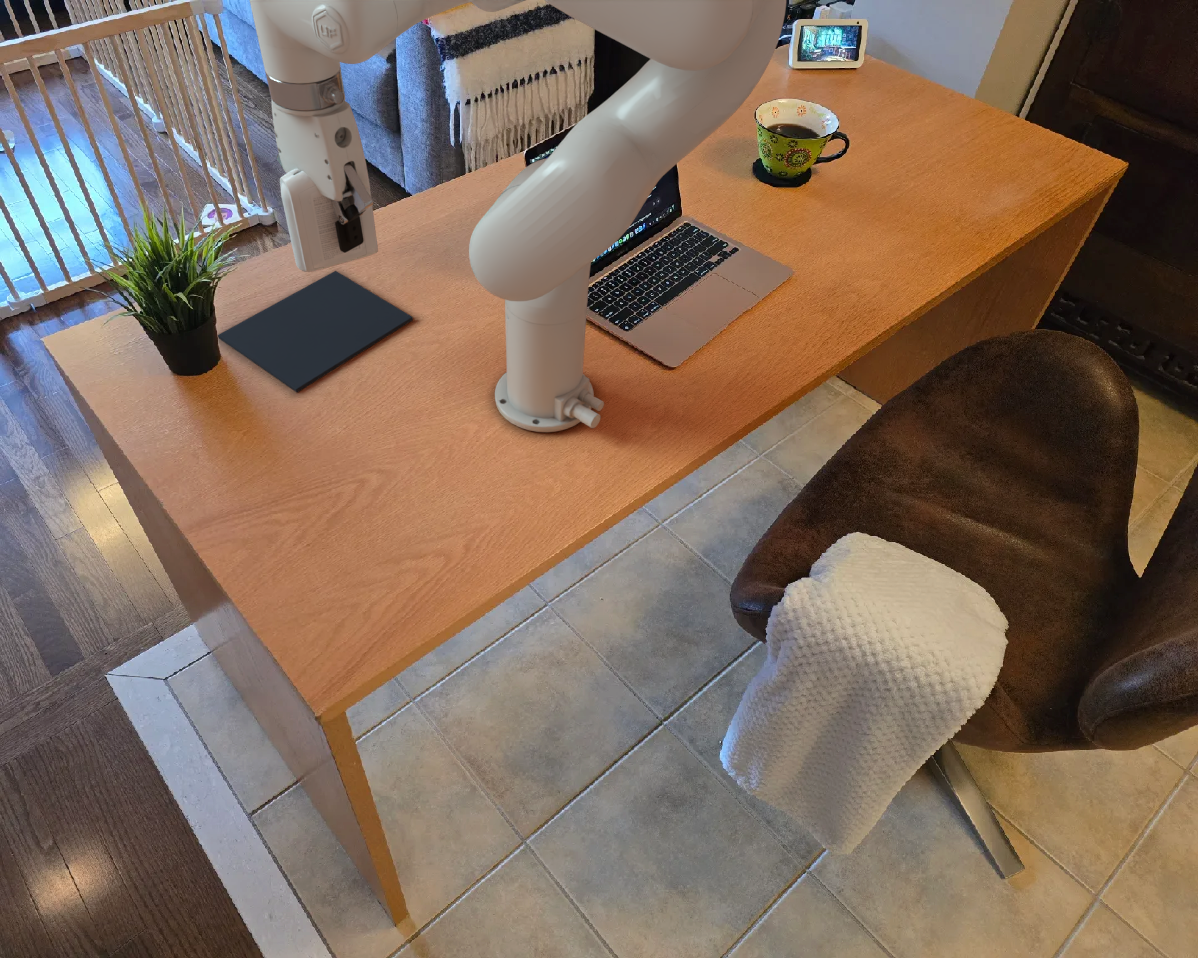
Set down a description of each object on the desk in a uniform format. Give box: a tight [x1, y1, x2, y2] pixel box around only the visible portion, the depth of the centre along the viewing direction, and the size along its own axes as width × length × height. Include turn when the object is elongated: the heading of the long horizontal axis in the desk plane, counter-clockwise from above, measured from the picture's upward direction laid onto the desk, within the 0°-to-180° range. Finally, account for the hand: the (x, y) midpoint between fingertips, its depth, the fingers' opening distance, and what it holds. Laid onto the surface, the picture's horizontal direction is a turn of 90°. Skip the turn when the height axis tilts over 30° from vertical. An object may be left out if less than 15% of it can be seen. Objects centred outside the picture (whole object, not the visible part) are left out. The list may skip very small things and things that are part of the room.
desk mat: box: [217, 270, 414, 393], centre depth 119 cm, size 16×20×1 cm
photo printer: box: [279, 169, 379, 273], centre depth 102 cm, size 10×4×12 cm, turn 124°
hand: (334, 235), depth 104 cm, fingers closed on photo printer, 5 cm apart
